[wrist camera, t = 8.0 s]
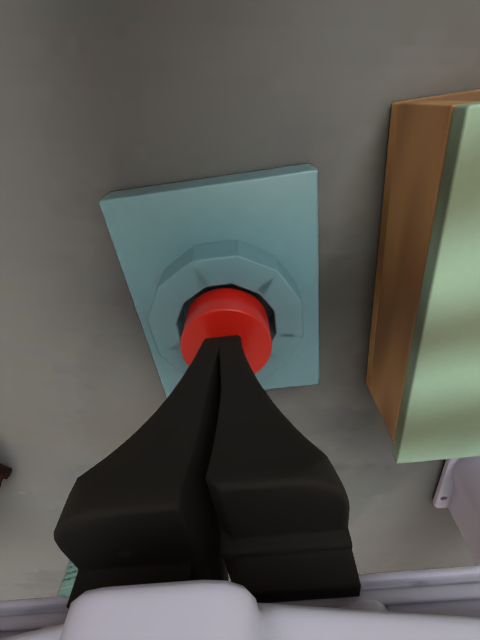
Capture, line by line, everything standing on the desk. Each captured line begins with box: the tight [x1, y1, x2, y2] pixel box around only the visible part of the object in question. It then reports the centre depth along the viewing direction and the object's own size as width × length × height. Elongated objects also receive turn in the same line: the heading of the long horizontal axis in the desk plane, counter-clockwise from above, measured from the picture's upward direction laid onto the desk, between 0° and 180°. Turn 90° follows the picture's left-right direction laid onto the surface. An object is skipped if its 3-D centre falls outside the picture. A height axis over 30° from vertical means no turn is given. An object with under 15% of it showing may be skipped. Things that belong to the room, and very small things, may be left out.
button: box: [180, 288, 272, 374], centre depth 14 cm, size 4×4×2 cm
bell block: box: [99, 164, 319, 398], centre depth 16 cm, size 11×8×3 cm
